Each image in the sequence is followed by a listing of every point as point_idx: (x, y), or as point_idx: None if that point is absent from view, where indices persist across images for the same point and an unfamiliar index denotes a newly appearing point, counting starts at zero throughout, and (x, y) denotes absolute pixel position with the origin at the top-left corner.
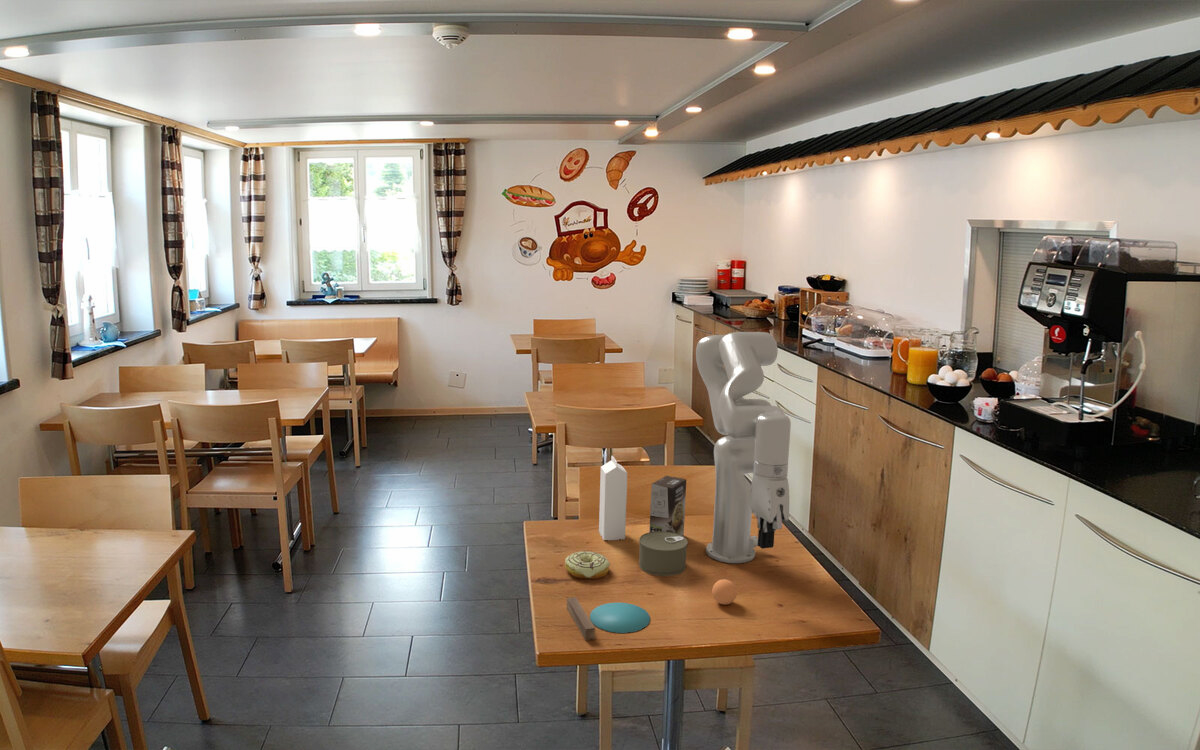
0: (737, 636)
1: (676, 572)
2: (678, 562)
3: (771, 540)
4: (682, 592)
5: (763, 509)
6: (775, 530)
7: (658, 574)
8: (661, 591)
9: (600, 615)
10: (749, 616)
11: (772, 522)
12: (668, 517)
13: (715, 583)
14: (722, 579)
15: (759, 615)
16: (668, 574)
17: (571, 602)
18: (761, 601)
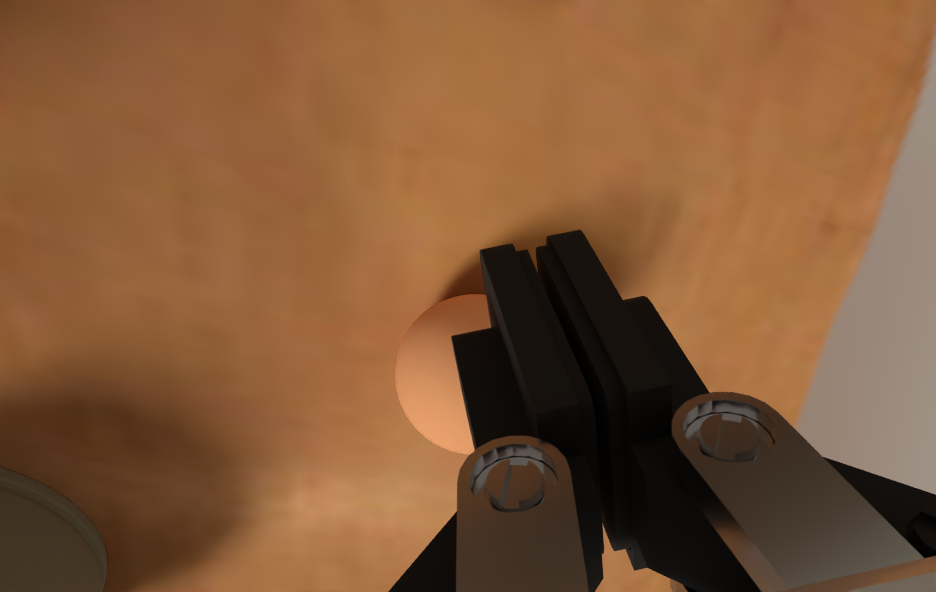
0: (802, 329)
1: (70, 518)
2: (46, 566)
3: (663, 339)
4: (315, 495)
5: None
6: (770, 414)
7: (103, 585)
8: (302, 570)
9: None
10: (639, 226)
11: (761, 575)
12: None
13: (457, 452)
14: (452, 431)
15: (644, 165)
16: (100, 549)
17: None
18: (467, 94)
